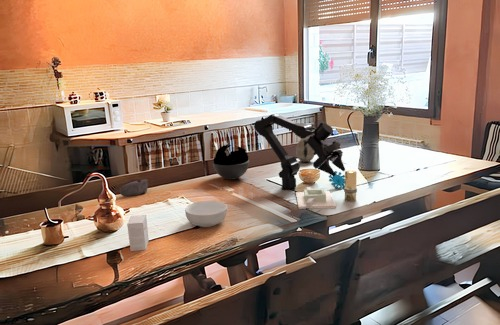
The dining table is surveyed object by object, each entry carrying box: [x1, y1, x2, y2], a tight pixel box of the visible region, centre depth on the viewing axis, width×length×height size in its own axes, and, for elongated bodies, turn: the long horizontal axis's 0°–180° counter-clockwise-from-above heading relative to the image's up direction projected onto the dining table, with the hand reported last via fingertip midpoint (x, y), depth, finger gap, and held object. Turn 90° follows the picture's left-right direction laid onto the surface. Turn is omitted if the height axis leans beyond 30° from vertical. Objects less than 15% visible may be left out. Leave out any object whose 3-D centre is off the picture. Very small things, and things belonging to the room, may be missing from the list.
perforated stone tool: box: [119, 178, 149, 197], centre depth 217 cm, size 15×5×7 cm, turn 117°
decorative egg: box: [295, 137, 315, 163], centre depth 265 cm, size 12×12×15 cm
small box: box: [126, 214, 150, 252], centre depth 156 cm, size 8×6×10 cm
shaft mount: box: [295, 186, 337, 210], centre depth 196 cm, size 16×23×4 cm
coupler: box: [343, 170, 358, 202], centre depth 194 cm, size 6×6×13 cm
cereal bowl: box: [184, 200, 228, 228], centre depth 175 cm, size 17×17×7 cm
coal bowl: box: [212, 144, 250, 180], centre depth 235 cm, size 20×20×19 cm
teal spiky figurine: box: [328, 170, 345, 190], centre depth 215 cm, size 11×6×10 cm
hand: (339, 173), depth 196 cm, fingers open, 9 cm apart
